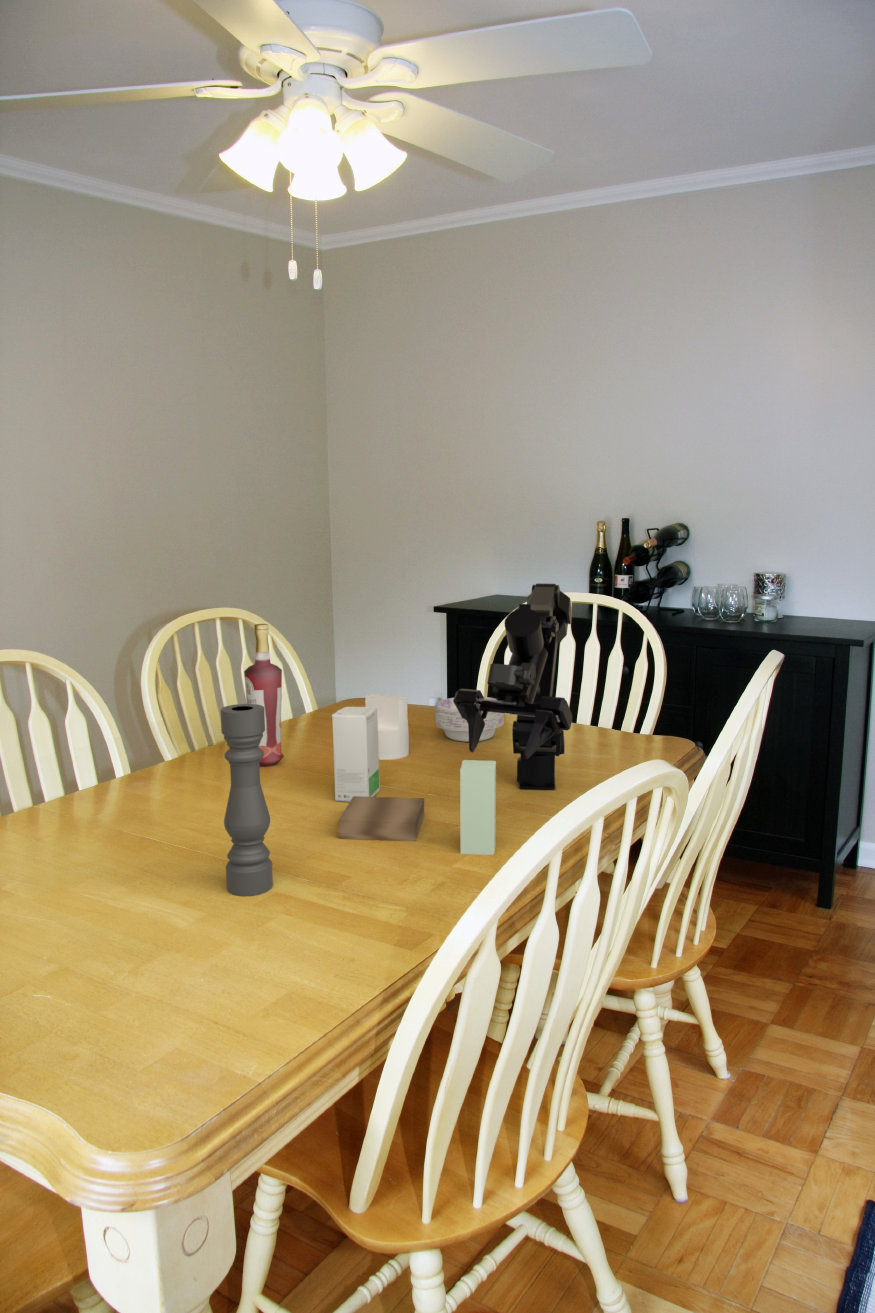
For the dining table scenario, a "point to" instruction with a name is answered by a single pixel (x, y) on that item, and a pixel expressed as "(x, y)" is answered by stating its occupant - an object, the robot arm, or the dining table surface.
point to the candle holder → (246, 802)
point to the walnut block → (382, 818)
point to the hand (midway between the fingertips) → (498, 754)
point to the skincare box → (355, 752)
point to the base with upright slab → (391, 725)
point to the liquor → (266, 696)
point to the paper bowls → (463, 721)
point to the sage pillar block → (478, 807)
